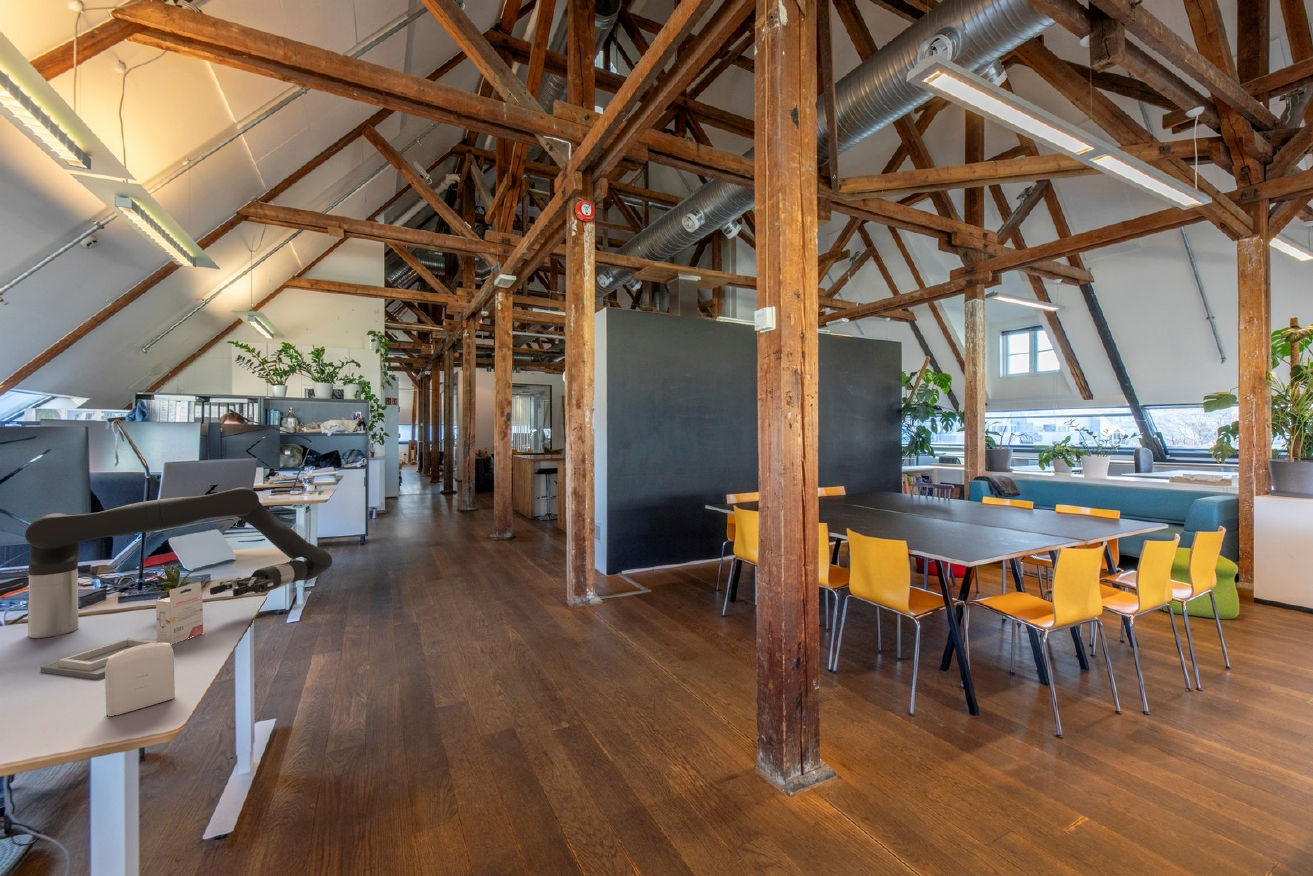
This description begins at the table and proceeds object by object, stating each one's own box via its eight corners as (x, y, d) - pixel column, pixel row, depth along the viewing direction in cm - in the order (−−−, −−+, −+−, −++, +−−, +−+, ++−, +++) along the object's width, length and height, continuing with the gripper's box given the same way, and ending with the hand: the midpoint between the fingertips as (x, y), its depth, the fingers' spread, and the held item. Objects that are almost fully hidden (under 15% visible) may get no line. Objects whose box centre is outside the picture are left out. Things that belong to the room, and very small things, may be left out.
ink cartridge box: (189, 633, 151) (189, 580, 151) (203, 634, 150) (203, 581, 150) (155, 644, 143) (155, 589, 142) (170, 646, 142) (169, 590, 141)
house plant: (127, 620, 162) (126, 565, 161) (182, 606, 174) (181, 556, 174) (154, 626, 156) (154, 570, 156) (209, 611, 169) (208, 559, 169)
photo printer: (106, 720, 105) (106, 656, 105) (104, 712, 108) (103, 651, 107) (176, 700, 113) (176, 641, 113) (172, 693, 115) (172, 636, 115)
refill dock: (40, 671, 126) (40, 660, 126) (121, 645, 142) (121, 635, 142) (97, 679, 122) (97, 667, 122) (174, 651, 138) (174, 641, 138)
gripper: (255, 564, 175) (202, 578, 159) (291, 566, 171) (241, 580, 156) (255, 587, 175) (203, 603, 159) (291, 590, 171) (242, 606, 156)
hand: (222, 592), depth 157 cm, fingers open, 8 cm apart
